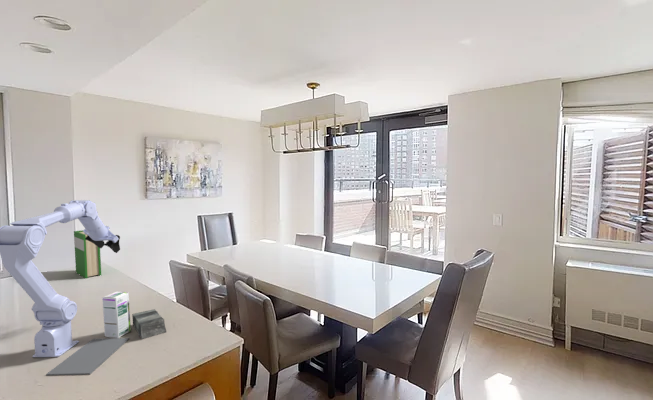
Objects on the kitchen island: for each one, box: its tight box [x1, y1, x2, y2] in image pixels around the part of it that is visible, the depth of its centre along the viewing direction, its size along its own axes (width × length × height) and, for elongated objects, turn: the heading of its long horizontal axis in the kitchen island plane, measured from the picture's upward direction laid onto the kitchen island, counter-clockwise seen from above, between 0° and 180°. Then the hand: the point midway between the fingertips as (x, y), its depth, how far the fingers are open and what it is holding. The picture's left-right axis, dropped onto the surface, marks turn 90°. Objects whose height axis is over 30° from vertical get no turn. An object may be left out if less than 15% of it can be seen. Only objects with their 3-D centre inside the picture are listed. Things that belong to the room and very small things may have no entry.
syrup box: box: [101, 291, 132, 338], centre depth 119 cm, size 6×6×14 cm
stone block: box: [131, 308, 168, 340], centre depth 124 cm, size 9×14×5 cm, turn 40°
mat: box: [45, 337, 130, 376], centre depth 105 cm, size 20×12×1 cm, turn 3°
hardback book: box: [73, 229, 102, 279], centre depth 190 cm, size 18×7×24 cm, turn 50°
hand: (110, 248), depth 135 cm, fingers open, 7 cm apart
